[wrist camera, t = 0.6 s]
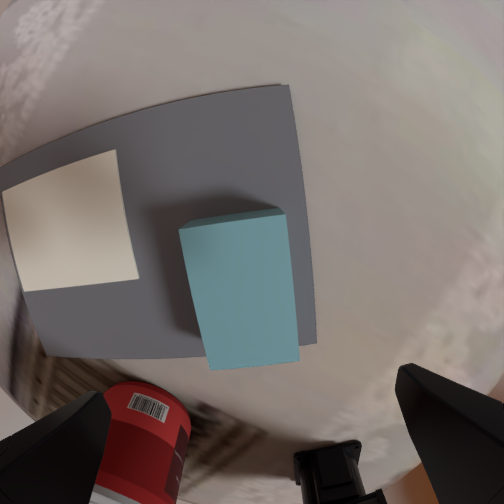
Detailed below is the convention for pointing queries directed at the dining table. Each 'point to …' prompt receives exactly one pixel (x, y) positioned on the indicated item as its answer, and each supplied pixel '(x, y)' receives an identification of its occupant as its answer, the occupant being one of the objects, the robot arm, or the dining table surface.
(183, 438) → the canned food
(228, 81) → the dining table surface
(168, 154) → the mat
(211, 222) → the block
